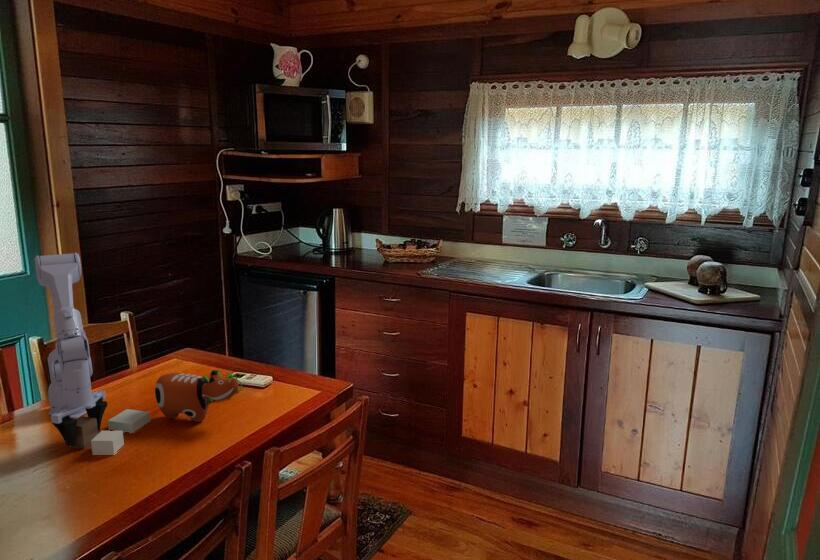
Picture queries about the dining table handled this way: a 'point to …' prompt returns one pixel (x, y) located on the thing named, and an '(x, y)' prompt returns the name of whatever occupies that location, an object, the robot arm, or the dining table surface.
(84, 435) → the walnut block
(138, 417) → the sage slab
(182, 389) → the toy
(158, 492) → the dining table surface
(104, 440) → the cream block
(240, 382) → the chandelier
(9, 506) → the dining table surface
